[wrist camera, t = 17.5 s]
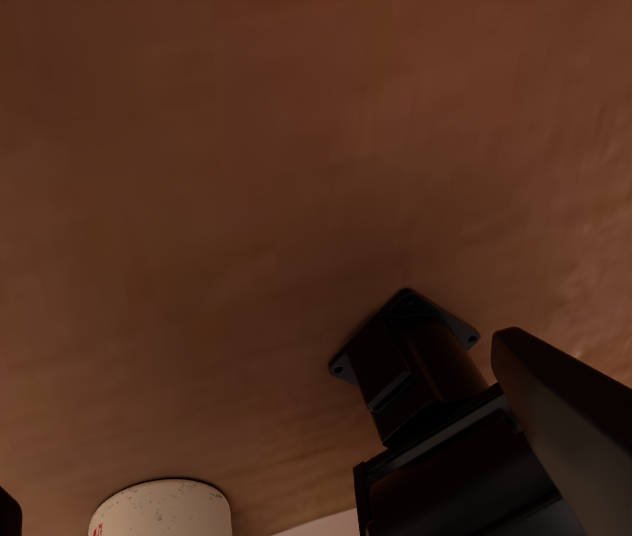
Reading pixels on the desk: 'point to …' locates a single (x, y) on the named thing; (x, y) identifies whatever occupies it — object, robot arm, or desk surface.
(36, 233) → the desk surface
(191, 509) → the teacup with lid
